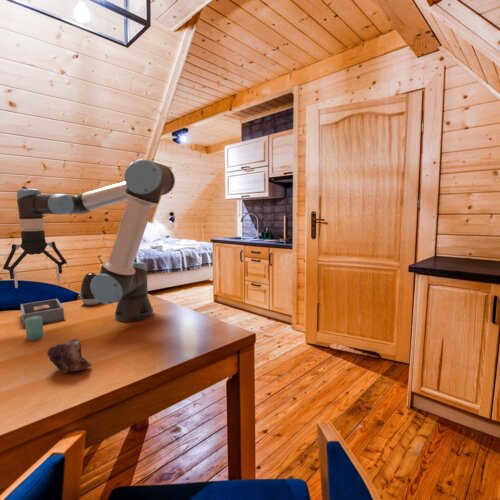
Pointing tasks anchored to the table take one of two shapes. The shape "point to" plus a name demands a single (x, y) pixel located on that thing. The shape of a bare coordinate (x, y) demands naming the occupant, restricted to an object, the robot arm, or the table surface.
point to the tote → (47, 316)
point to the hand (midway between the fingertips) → (38, 284)
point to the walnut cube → (41, 308)
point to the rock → (68, 356)
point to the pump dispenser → (88, 290)
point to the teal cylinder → (34, 328)
